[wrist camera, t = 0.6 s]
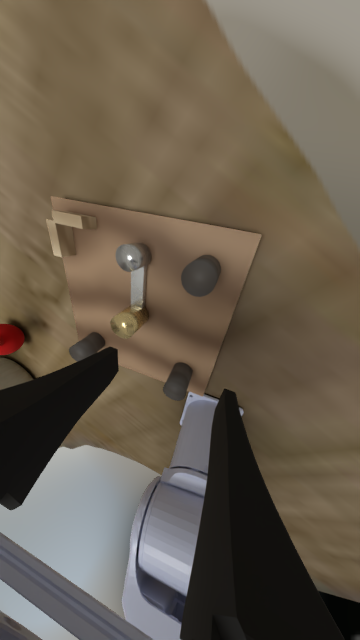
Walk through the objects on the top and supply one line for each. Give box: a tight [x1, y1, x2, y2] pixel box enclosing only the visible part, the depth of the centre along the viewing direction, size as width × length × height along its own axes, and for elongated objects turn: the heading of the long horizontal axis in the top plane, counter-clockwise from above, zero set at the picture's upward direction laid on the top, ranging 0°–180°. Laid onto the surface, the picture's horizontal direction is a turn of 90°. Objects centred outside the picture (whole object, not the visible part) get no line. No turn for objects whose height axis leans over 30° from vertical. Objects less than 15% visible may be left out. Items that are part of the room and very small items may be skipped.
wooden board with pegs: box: [46, 196, 262, 400], centre depth 19 cm, size 20×20×5 cm
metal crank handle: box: [110, 243, 151, 339], centre depth 16 cm, size 9×3×3 cm, turn 171°
